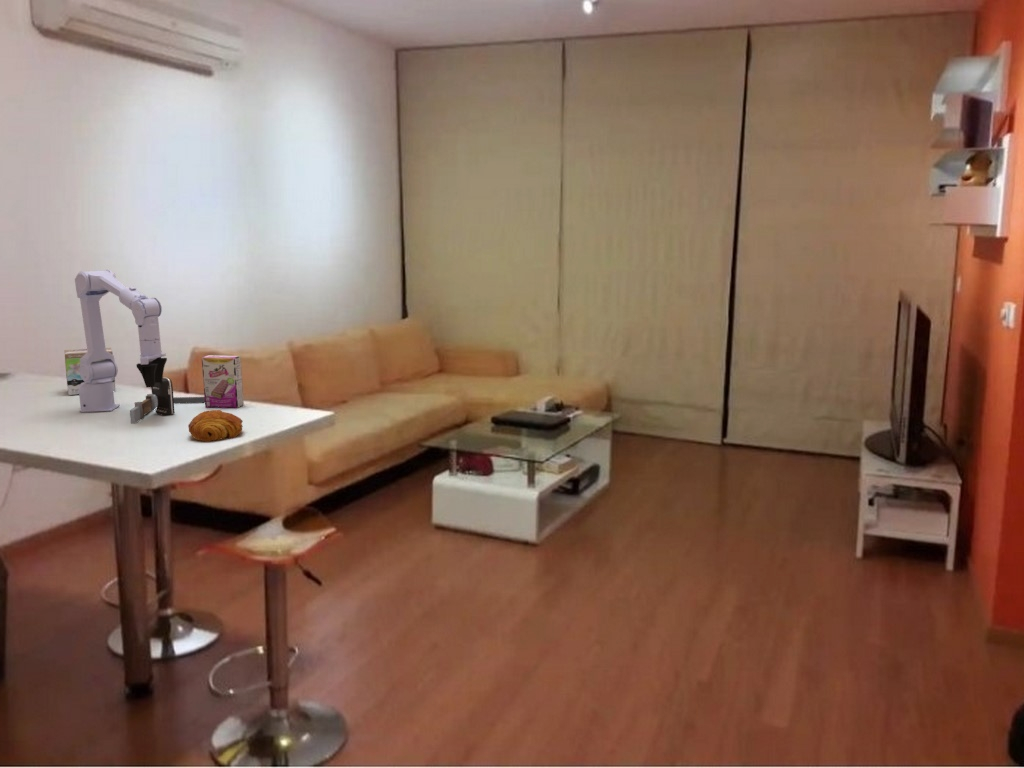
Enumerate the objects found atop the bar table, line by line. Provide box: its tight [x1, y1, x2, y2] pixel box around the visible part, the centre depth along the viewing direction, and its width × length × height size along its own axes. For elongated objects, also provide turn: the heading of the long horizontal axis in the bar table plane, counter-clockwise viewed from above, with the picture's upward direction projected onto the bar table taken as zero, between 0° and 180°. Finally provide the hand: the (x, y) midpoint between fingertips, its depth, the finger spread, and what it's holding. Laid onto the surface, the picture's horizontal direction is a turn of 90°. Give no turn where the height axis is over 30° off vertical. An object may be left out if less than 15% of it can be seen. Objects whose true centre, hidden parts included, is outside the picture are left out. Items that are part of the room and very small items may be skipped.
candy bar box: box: [201, 354, 245, 409], centre depth 274 cm, size 11×5×16 cm, turn 84°
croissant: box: [187, 409, 243, 442], centre depth 239 cm, size 14×16×8 cm
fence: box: [129, 393, 158, 424], centre depth 265 cm, size 2×25×5 cm, turn 6°
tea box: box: [64, 347, 116, 396], centre depth 299 cm, size 15×10×15 cm
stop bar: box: [173, 396, 205, 404], centre depth 281 cm, size 16×2×2 cm, turn 96°
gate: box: [141, 395, 153, 417], centre depth 265 cm, size 2×9×4 cm, turn 6°
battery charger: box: [150, 376, 175, 416], centre depth 264 cm, size 7×4×11 cm, turn 52°
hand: (154, 384), depth 256 cm, fingers open, 7 cm apart
